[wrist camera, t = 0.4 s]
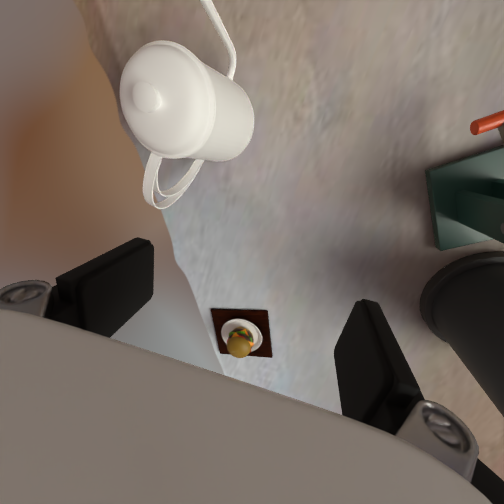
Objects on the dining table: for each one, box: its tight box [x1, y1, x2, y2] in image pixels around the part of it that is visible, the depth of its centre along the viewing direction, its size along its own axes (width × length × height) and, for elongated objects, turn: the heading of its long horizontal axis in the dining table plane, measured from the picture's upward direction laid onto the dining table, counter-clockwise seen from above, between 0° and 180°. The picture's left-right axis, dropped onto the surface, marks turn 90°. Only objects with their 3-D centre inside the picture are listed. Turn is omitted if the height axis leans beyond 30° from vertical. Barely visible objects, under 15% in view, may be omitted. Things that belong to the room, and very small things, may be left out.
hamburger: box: [211, 309, 272, 358], centre depth 48 cm, size 12×12×6 cm
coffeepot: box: [120, 0, 254, 209], centre depth 27 cm, size 11×25×19 cm, turn 153°
